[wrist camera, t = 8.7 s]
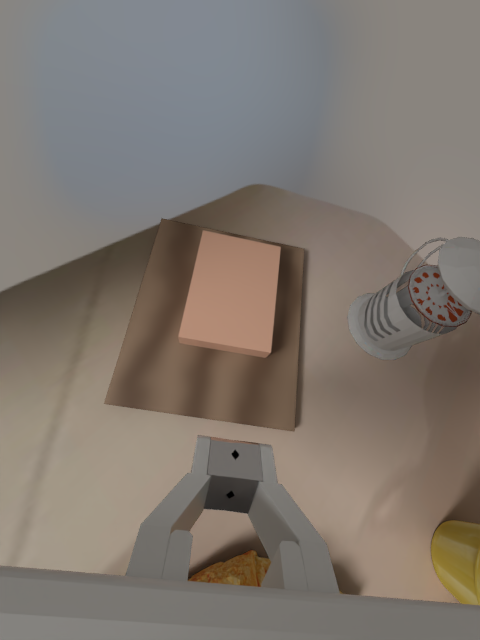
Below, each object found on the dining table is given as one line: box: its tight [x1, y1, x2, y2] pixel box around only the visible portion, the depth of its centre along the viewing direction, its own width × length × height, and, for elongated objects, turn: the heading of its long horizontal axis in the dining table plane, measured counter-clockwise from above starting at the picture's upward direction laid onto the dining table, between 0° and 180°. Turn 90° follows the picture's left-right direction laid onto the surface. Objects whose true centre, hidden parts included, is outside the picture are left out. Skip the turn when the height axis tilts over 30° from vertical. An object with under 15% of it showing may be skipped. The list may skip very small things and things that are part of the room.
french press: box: [347, 237, 480, 360], centre depth 25 cm, size 10×12×25 cm
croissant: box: [187, 550, 344, 594], centre depth 21 cm, size 21×10×8 cm, turn 93°
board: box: [104, 219, 304, 431], centre depth 33 cm, size 20×24×1 cm
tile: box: [178, 230, 281, 358], centre depth 32 cm, size 10×3×14 cm
